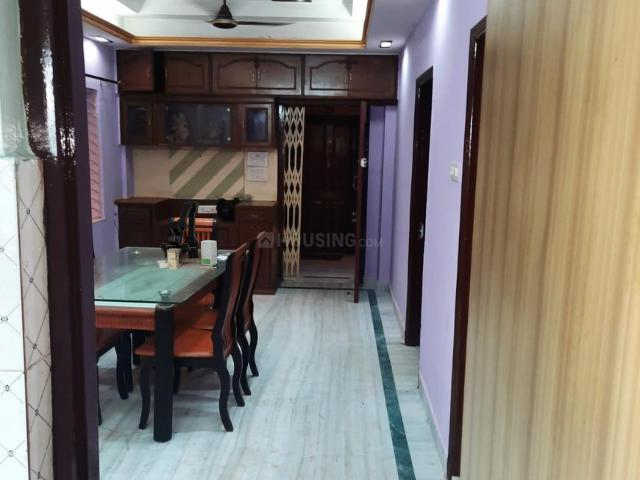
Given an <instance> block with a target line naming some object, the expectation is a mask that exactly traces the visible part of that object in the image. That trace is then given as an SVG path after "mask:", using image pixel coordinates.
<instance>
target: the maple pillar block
mask: <svg viewBox="0 0 640 480" xmlns="http://www.w3.org/2000/svg"><path fill="white" fill-rule="evenodd" d="M167 260H168V267H167V268H168V269H169V270H178V268H180V259H179V249H169V250H167Z"/></svg>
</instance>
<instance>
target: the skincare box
mask: <svg viewBox="0 0 640 480" xmlns="http://www.w3.org/2000/svg"><path fill="white" fill-rule="evenodd" d="M200 252H201V265H204V266H215V265H217V264H218V247H217V240H209V239H206V240H202V241H200Z"/></svg>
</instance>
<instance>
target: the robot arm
mask: <svg viewBox="0 0 640 480" xmlns="http://www.w3.org/2000/svg"><path fill="white" fill-rule="evenodd" d="M199 207H200V203H199V202H198V201H196V200H195V201H193V200H192V201H191V200H190V201H186V202H183V207H182V211H181V214H180V217H179V218H178V219H177V220H174V221H173V222H171V223H170V224H169V229H170V230H171V233H172V234H173V235H169V236H168V239H167V240H168V241H167V242H169V244H170V245H168V243H167V242H166V243H164V242H163V243H161V244H160V245H159V248H160V249H161V251H162V252H163V253H164V260H167V259H168V255H167V250H169V249H178V250H180V251H179V253H178V258H179V260H180V259H181V258H182V257H183V256H184V255H185V254H186V253H187V258H189V259H196V258H199V257H200V256H199V250H201V244H200V242H199V241H198V237H197V236H196V217H197V216H196V215H197V213H198V212H199ZM187 229H188V230H187ZM186 231H187V232H188V233H187V236H185V233H184V232H186ZM184 237H185V239H184ZM183 239H184V240H185V241H184V242H183Z"/></svg>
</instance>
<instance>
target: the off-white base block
mask: <svg viewBox="0 0 640 480" xmlns="http://www.w3.org/2000/svg"><path fill="white" fill-rule="evenodd" d="M156 264H157V265H158V266H159V267H158V266H157V267H158V268H159V269H166V268H168V259H163V260H156Z"/></svg>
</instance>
